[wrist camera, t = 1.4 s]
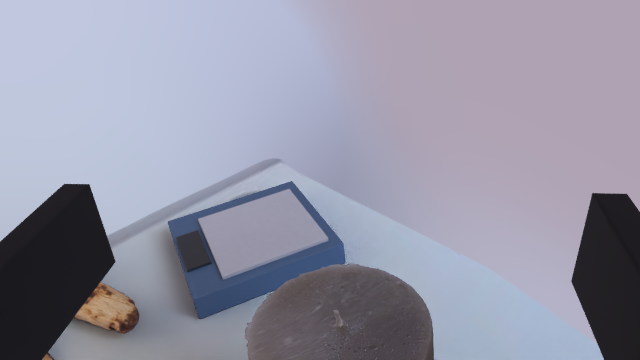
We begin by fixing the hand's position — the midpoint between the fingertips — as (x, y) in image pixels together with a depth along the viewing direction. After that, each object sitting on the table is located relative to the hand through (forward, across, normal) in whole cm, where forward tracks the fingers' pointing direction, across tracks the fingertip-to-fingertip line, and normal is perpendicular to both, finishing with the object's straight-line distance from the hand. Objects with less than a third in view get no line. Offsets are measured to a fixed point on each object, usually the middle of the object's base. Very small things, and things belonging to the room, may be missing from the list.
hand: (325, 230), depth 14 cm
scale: (+31, -13, -25) cm, 42 cm away
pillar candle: (+8, 0, -25) cm, 27 cm away
